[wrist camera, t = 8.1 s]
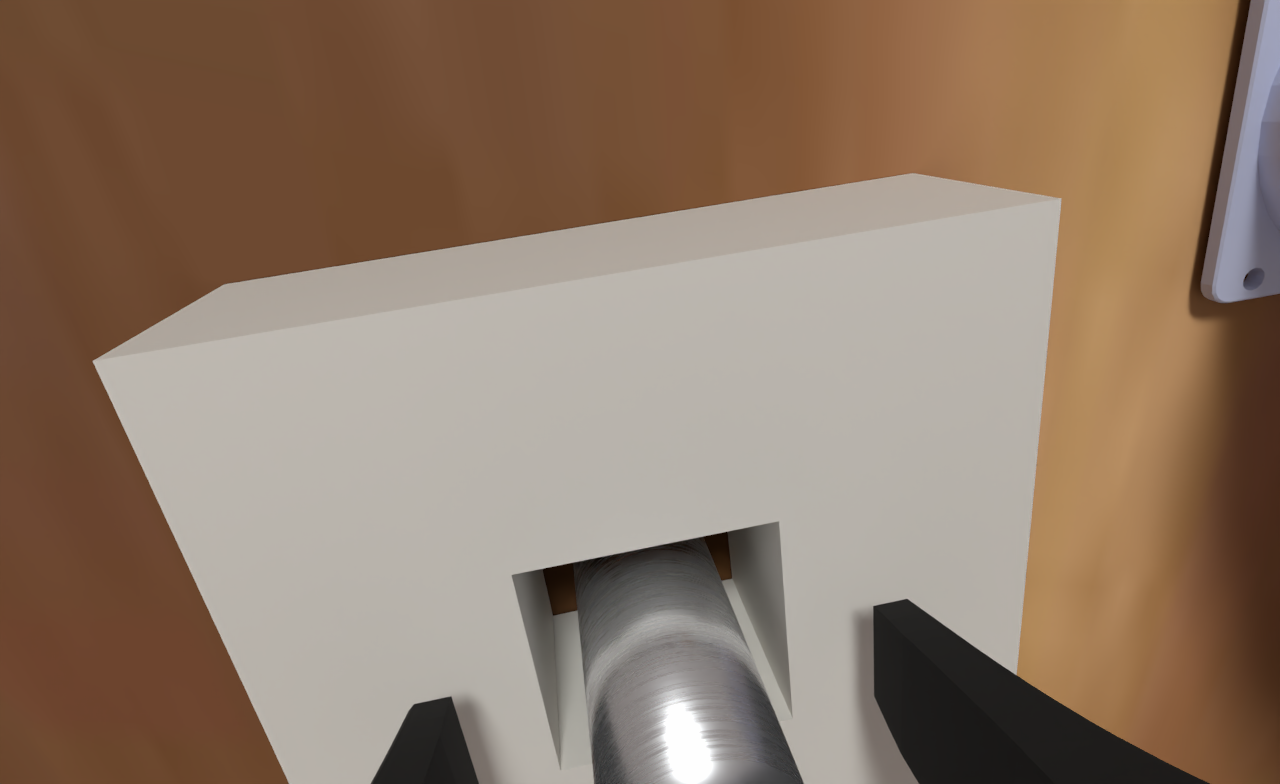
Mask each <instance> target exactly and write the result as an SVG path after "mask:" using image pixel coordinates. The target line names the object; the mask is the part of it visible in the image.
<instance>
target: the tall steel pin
mask: <svg viewBox="0 0 1280 784" xmlns="http://www.w3.org/2000/svg"><path fill="white" fill-rule="evenodd" d="M573 571H574V581H575V591H576V602H577V612H578V622H579V633H580V643H581V653H582V664H583V674H584V684H585V695H586V705H587V716H588V726H589V736H590V747H591V757H592V767H593V778H594V784H804V782H803V780H802V777H801V775H800V773H799V770H798V768H797V765H796V763H795V760H794V758H793V755H792V753H791V750H790V748H789V745H788V743H787V741H786V738H785V736H784V733H783V731H782V728H781V726H780V723H779V721H778V718H777V716H776V714H775V711H774V709H773V706H772V704H771V701H770V699H769V696H768V694H767V691H766V689H765V687H764V684H763V682H762V679H761V677H760V674H759V672H758V669H757V667H756V664H755V662H754V659H753V657H752V655H751V652H750V650H749V647H748V645H747V642H746V640H745V637H744V635H743V632H742V630H741V628H740V625H739V623H738V620H737V618H736V615H735V613H734V610H733V608H732V605H731V603H730V601H729V598H728V596H727V593H726V591H725V588H724V586H723V583H722V581H721V578H720V576H719V573H718V571H717V569H716V566H715V564H714V561H713V559H712V556H711V554H710V551H709V549H708V546H707V544H706V542H705V539H704V537H698V538H693V539H688V540H683V541H678V542H673V543H668V544H663V545H658V546H653V547H648V548H643V549H638V550H633V551H628V552H623V553H618V554H613V555H608V556H603V557H598V558H593V559H588V560H583V561H578V562H574V563H573Z"/></svg>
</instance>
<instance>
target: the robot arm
mask: <svg viewBox="0 0 1280 784" xmlns="http://www.w3.org/2000/svg"><path fill="white" fill-rule="evenodd" d="M1247 273H1248V276H1247V278H1246V280H1245V281H1244V278H1245V276H1246V274H1247ZM1243 281H1244V282H1243ZM1201 292H1202V294H1203V296H1204V297H1206V298H1207V299H1209V300H1212V301H1215V302H1219V303H1232V302H1237V301H1243V300H1248V299H1254V298H1259V297H1264V296H1270V295H1275V294H1280V0H1251V2H1250V8H1249V14H1248V19H1247V25H1246V31H1245V36H1244V42H1243V48H1242V53H1241V59H1240V65H1239V70H1238V76H1237V81H1236V87H1235V93H1234V98H1233V104H1232V110H1231V115H1230V121H1229V127H1228V132H1227V138H1226V144H1225V149H1224V155H1223V160H1222V166H1221V172H1220V177H1219V183H1218V189H1217V194H1216V200H1215V206H1214V211H1213V217H1212V222H1211V228H1210V234H1209V239H1208V245H1207V251H1206V256H1205V262H1204V268H1203V273H1202V279H1201ZM873 637H874V697H875V699H876V701H877V704H878V706H879V708H880V710H881V712H882V715H883V717H884V719H885V721H886V723H887V726H888V728H889V730H890V732H891V734H892V736H893V738H894V740H895V742H896V744H897V747H898V749H899V751H900V753H901V755H902V756H903V758H904V760H905V761H906V763H907V765H908V767H909V768H910V770H911V772H912V773H913V775H914V776H915V778H916V780H917V781H918V783H919V784H1210V783H1207V782H1205V781H1203V780H1201V779H1199V778H1197V777H1195V776H1192V775H1190V774H1188V773H1186V772H1184V771H1182V770H1180V769H1178V768H1176V767H1174V766H1172V765H1170V764H1168V763H1166V762H1164V761H1162V760H1160V759H1159V758H1157V757H1155V756H1153V755H1151V754H1149V753H1147V752H1145V751H1143V750H1142V749H1140V748H1138V747H1136V746H1134V745H1132V744H1130V743H1128V742H1126V741H1125V740H1123V739H1121V738H1119V737H1117V736H1115V735H1113V734H1112V733H1110V732H1108V731H1106V730H1105V729H1103V728H1101V727H1099V726H1097V725H1096V724H1094V723H1092V722H1090V721H1089V720H1087V719H1085V718H1084V717H1082V716H1081V715H1079V714H1077V713H1076V712H1074V711H1072V710H1071V709H1069V708H1067V707H1066V706H1064V705H1062V704H1061V703H1059V702H1057V701H1056V700H1054V699H1052V698H1051V697H1049V696H1048V695H1046V694H1044V693H1043V692H1041V691H1040V690H1038V689H1037V688H1035V687H1033V686H1032V685H1030V684H1029V683H1027V682H1026V681H1024V680H1023V679H1021V678H1020V677H1018V676H1017V675H1015V674H1014V673H1012V672H1011V671H1009V670H1008V669H1006V668H1005V667H1003V666H1002V665H1000V664H999V663H997V662H996V661H994V660H993V659H991V658H990V657H989V656H987V655H986V654H984V653H983V652H981V651H980V650H979V649H977V648H976V647H974V646H973V645H971V644H970V643H969V642H967V641H966V640H964V639H963V638H962V637H960V636H959V635H957V634H956V633H955V632H953V631H952V630H950V629H949V628H948V627H946V626H945V625H943V624H942V623H941V622H939V621H938V620H936V619H935V618H934V617H932V616H931V615H929V614H928V613H927V612H925V611H924V610H922V609H921V608H920V607H918V606H917V605H915V604H914V603H912V602H911V601H910V600H908V599H904V600H899V601H894V602H890V603H885V604H880V605H876V606H873ZM371 784H479V782H478V779H477V776H476V773H475V769H474V766H473V763H472V760H471V757H470V754H469V751H468V747H467V744H466V741H465V738H464V735H463V732H462V728H461V725H460V722H459V719H458V716H457V713H456V710H455V706H454V703H453V700H452V697H451V696H450V697H445V698H440V699H436V700H431V701H426V702H422V703H417V704H414V705H413V706H412V707H411V708H410V710H409V711H408V713H407V715H406V717H405V719H404V721H403V723H402V725H401V727H400V729H399V731H398V733H397V735H396V737H395V739H394V741H393V743H392V745H391V746H390V748H389V750H388V752H387V754H386V756H385V758H384V760H383V762H382V764H381V765H380V767H379V769H378V771H377V773H376V775H375V777H374V778H373V780H372V782H371Z"/></svg>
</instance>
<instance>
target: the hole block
mask: <svg viewBox="0 0 1280 784" xmlns="http://www.w3.org/2000/svg"><path fill="white" fill-rule="evenodd" d="M1060 209H1061V198H1055V197H1049V196H1043V195H1038V194H1032V193H1026V192H1020V191H1014V190H1008V189H1002V188H997V187H991V186H985V185H979V184H973V183H967V182H961V181H956V180H950V179H944V178H938V177H932V176H926V175H921V174H915V173H911V174H905V175H899V176H893V177H886V178H880V179H874V180H868V181H862V182H855V183H849V184H843V185H837V186H831V187H825V188H818V189H812V190H806V191H800V192H794V193H787V194H781V195H775V196H769V197H763V198H756V199H750V200H744V201H738V202H732V203H725V204H719V205H713V206H707V207H701V208H695V209H688V210H682V211H676V212H670V213H664V214H657V215H651V216H645V217H639V218H633V219H626V220H620V221H614V222H608V223H602V224H596V225H589V226H583V227H577V228H571V229H565V230H558V231H552V232H546V233H540V234H534V235H527V236H521V237H515V238H509V239H503V240H497V241H490V242H484V243H478V244H472V245H466V246H459V247H453V248H447V249H441V250H435V251H428V252H422V253H416V254H410V255H404V256H397V257H391V258H385V259H379V260H373V261H367V262H360V263H354V264H348V265H342V266H336V267H329V268H323V269H317V270H311V271H305V272H298V273H292V274H286V275H280V276H274V277H268V278H261V279H255V280H249V281H243V282H237V283H230V284H224V285H223V286H221V287H219V288H217V289H216V290H214V291H212V292H211V293H209V294H207V295H205V296H204V297H202V298H200V299H199V300H197V301H195V302H193V303H192V304H190V305H188V306H186V307H185V308H183V309H181V310H180V311H178V312H176V313H174V314H173V315H171V316H169V317H168V318H166V319H164V320H162V321H161V322H159V323H157V324H156V325H154V326H152V327H150V328H149V329H147V330H145V331H144V332H142V333H140V334H138V335H137V336H135V337H133V338H132V339H130V340H128V341H126V342H125V343H123V344H121V345H119V346H118V347H116V348H114V349H113V350H111V351H109V352H107V353H106V354H104V355H102V356H101V357H99V358H97V359H95V360H94V361H93V363H94V365H95V367H96V369H97V371H98V374H99V376H100V378H101V380H102V382H103V384H104V387H105V389H106V391H107V393H108V395H109V397H110V399H111V402H112V404H113V406H114V408H115V410H116V412H117V414H118V417H119V419H120V421H121V423H122V425H123V427H124V429H125V432H126V434H127V436H128V438H129V440H130V442H131V445H132V447H133V449H134V451H135V453H136V455H137V457H138V460H139V462H140V464H141V466H142V468H143V470H144V472H145V475H146V477H147V479H148V481H149V483H150V485H151V488H152V490H153V492H154V494H155V496H156V498H157V500H158V503H159V505H160V507H161V509H162V511H163V513H164V515H165V518H166V520H167V522H168V524H169V526H170V528H171V530H172V533H173V535H174V537H175V539H176V541H177V543H178V546H179V548H180V550H181V552H182V554H183V556H184V558H185V561H186V563H187V565H188V567H189V569H190V571H191V573H192V576H193V578H194V580H195V582H196V584H197V586H198V589H199V591H200V593H201V595H202V597H203V599H204V601H205V604H206V606H207V608H208V610H209V612H210V614H211V616H212V619H213V621H214V623H215V625H216V627H217V629H218V632H219V634H220V636H221V638H222V640H223V642H224V644H225V647H226V649H227V651H228V653H229V655H230V657H231V659H232V662H233V664H234V666H235V668H236V670H237V672H238V674H239V677H240V679H241V681H242V683H243V685H244V687H245V690H246V692H247V694H248V696H249V698H250V700H251V702H252V705H253V707H254V709H255V711H256V713H257V715H258V717H259V720H260V722H261V724H262V726H263V728H264V730H265V733H266V735H267V737H268V739H269V741H270V743H271V745H272V748H273V750H274V752H275V754H276V756H277V758H278V760H279V763H280V765H281V767H282V769H283V771H284V773H285V775H286V778H287V780H288V782H289V784H371V782H372V780H373V778H374V777H375V775H376V773H377V771H378V769H379V767H380V765H381V764H382V762H383V760H384V758H385V756H386V754H387V752H388V750H389V748H390V746H391V745H392V743H393V741H394V739H395V737H396V735H397V733H398V731H399V729H400V727H401V725H402V723H403V721H404V719H405V717H406V715H407V713H408V711H409V710H410V708H411V707H412V706H413V705H414V704H417V703H422V702H426V701H431V700H436V699H440V698H445V697H450V696H451V697H452V700H453V703H454V706H455V710H456V713H457V716H458V719H459V722H460V725H461V728H462V732H463V735H464V738H465V741H466V744H467V747H468V751H469V754H470V757H471V760H472V763H473V766H474V769H475V773H476V776H477V779H478V782H479V784H594V778H593V767H592V757H591V747H590V736H589V726H588V716H587V705H586V695H585V684H584V674H583V664H582V653H581V643H580V633H579V622H578V612H577V611H573V612H568V613H564V614H559V615H554V616H553V613H552V609H551V604H550V600H549V596H548V591H547V587H546V583H545V578H544V574H543V570H542V569H544V568H549V567H554V566H559V565H564V564H569V563H574V562H578V561H583V560H588V559H593V558H598V557H603V556H608V555H613V554H618V553H623V552H628V551H633V550H638V549H643V548H648V547H653V546H658V545H663V544H668V543H673V542H678V541H683V540H688V539H693V538H698V537H703V536H708V535H713V534H718V533H723V532H727V533H728V543H729V553H730V562H731V572H732V579H728V580H723V581H722V583H723V586H724V588H725V591H726V593H727V596H728V598H729V601H730V603H731V605H732V608H733V610H734V613H735V615H736V618H737V620H738V623H739V625H740V628H741V630H742V632H743V635H744V637H745V640H746V642H747V645H748V647H749V650H750V652H751V655H752V657H753V659H754V662H755V664H756V667H757V669H758V672H759V674H760V677H761V679H762V682H763V684H764V687H765V689H766V691H767V694H768V696H769V699H770V701H771V704H772V706H773V709H774V711H775V714H776V716H777V718H778V721H779V723H780V726H781V728H782V731H783V733H784V736H785V738H786V741H787V743H788V745H789V748H790V750H791V753H792V755H793V758H794V760H795V763H796V765H797V768H798V770H799V773H800V775H801V777H802V780H803V782H804V784H919V783H918V781H917V780H916V778H915V776H914V775H913V773H912V772H911V770H910V768H909V767H908V765H907V763H906V761H905V760H904V758H903V756H902V755H901V753H900V751H899V749H898V747H897V744H896V742H895V740H894V738H893V736H892V734H891V732H890V730H889V728H888V726H887V723H886V721H885V719H884V717H883V715H882V712H881V710H880V708H879V706H878V704H877V701H876V699H875V697H874V637H873V606H876V605H880V604H885V603H890V602H894V601H899V600H904V599H908V600H910V601H911V602H912V603H914V604H915V605H917V606H918V607H920V608H921V609H922V610H924V611H925V612H927V613H928V614H929V615H931V616H932V617H934V618H935V619H936V620H938V621H939V622H941V623H942V624H943V625H945V626H946V627H948V628H949V629H950V630H952V631H953V632H955V633H956V634H957V635H959V636H960V637H962V638H963V639H964V640H966V641H967V642H969V643H970V644H971V645H973V646H974V647H976V648H977V649H979V650H980V651H981V652H983V653H984V654H986V655H987V656H989V657H990V658H991V659H993V660H994V661H996V662H997V663H999V664H1000V665H1002V666H1003V667H1005V668H1006V669H1008V670H1009V671H1011V672H1012V673H1014V674H1015V675H1016V674H1017V664H1018V653H1019V643H1020V632H1021V621H1022V611H1023V600H1024V590H1025V579H1026V568H1027V558H1028V547H1029V537H1030V526H1031V516H1032V505H1033V494H1034V484H1035V473H1036V463H1037V452H1038V442H1039V431H1040V420H1041V410H1042V399H1043V389H1044V378H1045V367H1046V357H1047V346H1048V336H1049V325H1050V315H1051V304H1052V293H1053V283H1054V272H1055V262H1056V251H1057V241H1058V230H1059V219H1060Z"/></svg>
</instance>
